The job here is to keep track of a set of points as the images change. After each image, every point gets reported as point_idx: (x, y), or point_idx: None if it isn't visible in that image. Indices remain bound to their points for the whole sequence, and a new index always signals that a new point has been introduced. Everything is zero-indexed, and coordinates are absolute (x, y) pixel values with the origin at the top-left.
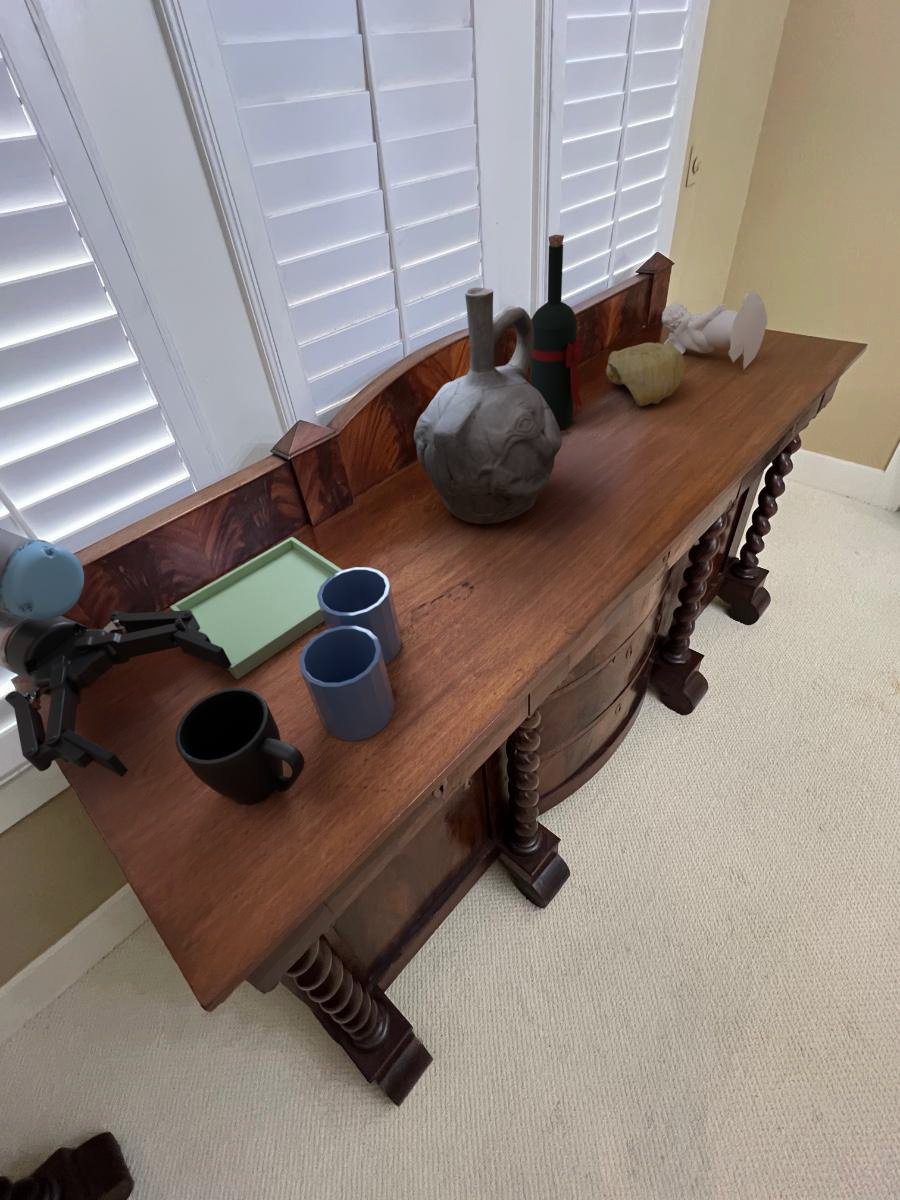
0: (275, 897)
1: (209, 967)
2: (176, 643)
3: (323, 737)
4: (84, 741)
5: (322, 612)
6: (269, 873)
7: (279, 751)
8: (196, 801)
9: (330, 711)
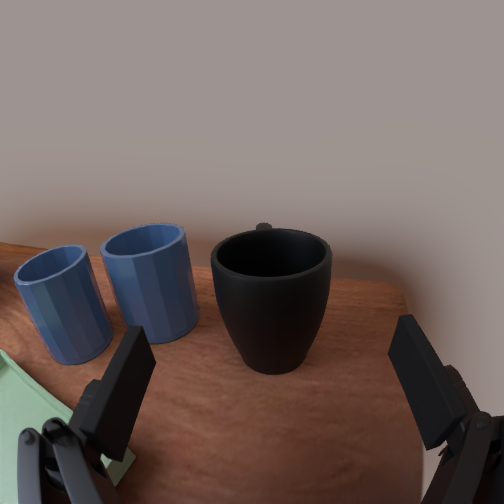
0: (340, 288)
1: (394, 290)
2: (103, 475)
3: (200, 328)
4: (434, 366)
5: (66, 283)
6: (332, 298)
7: (267, 225)
8: (332, 381)
9: (191, 272)
